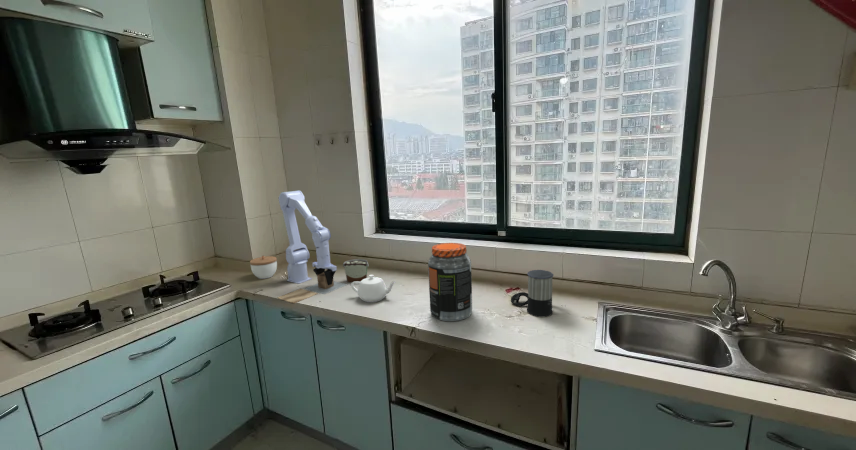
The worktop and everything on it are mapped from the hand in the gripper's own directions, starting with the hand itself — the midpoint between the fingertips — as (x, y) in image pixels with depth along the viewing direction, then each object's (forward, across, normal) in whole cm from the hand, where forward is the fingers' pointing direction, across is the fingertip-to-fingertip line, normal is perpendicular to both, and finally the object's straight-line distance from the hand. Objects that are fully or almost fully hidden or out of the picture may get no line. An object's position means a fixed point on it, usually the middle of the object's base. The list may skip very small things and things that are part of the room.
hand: (325, 283), depth 168 cm
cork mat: (+2, -2, -14) cm, 14 cm away
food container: (+2, +7, +14) cm, 16 cm away
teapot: (+2, +29, +1) cm, 29 cm away
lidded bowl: (+2, -41, -5) cm, 41 cm away
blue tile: (+2, 0, 0) cm, 2 cm away
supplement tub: (+2, +65, +4) cm, 65 cm away
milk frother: (+2, +89, +23) cm, 92 cm away
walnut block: (+2, 0, 0) cm, 2 cm away
